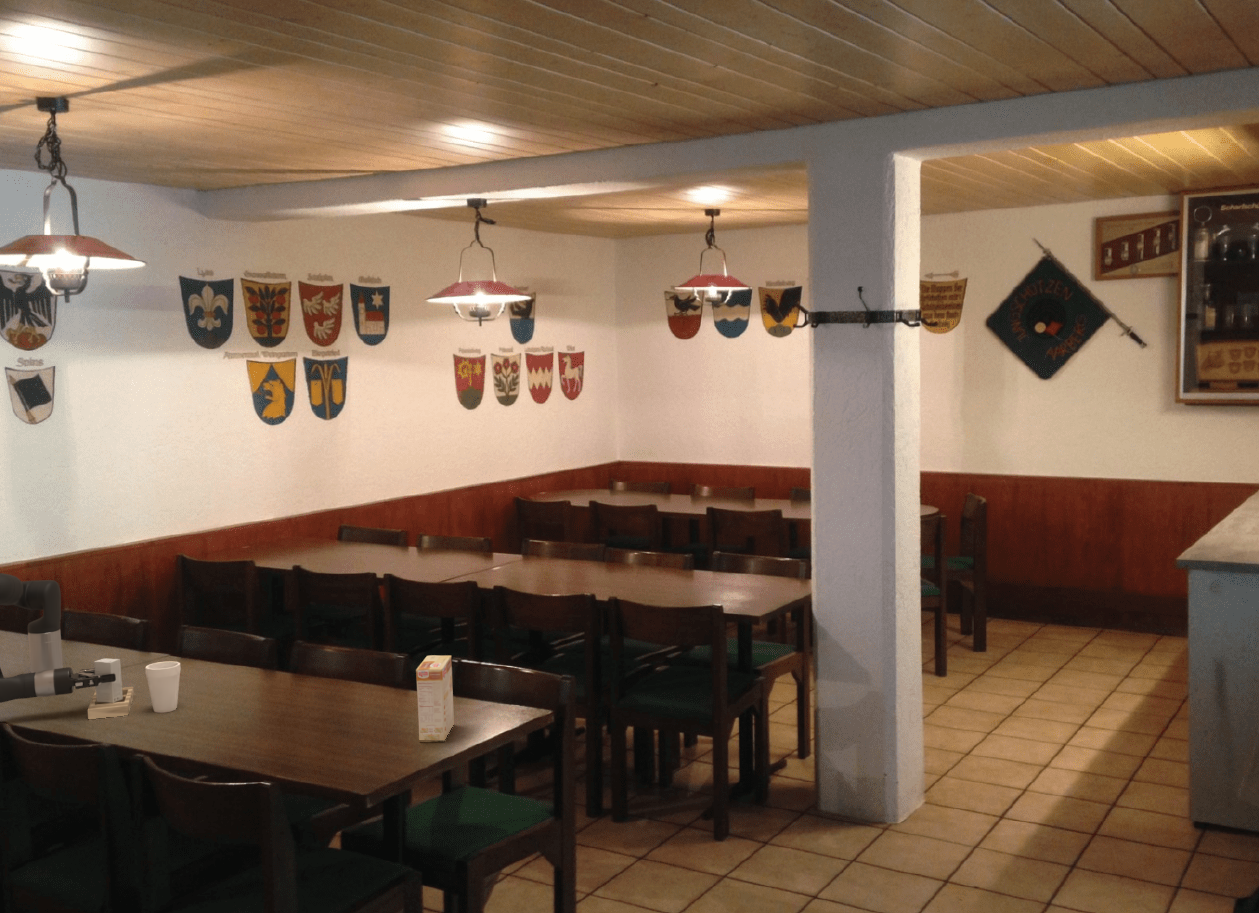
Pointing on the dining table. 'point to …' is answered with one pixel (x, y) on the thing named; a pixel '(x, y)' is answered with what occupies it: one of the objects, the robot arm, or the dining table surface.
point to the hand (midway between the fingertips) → (116, 674)
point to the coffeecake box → (435, 697)
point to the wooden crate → (111, 706)
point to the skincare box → (109, 690)
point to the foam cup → (163, 685)
